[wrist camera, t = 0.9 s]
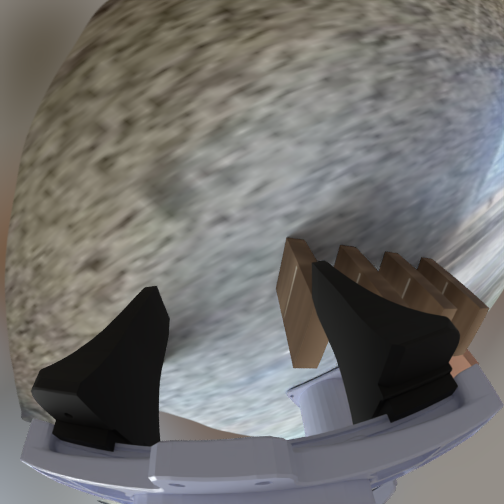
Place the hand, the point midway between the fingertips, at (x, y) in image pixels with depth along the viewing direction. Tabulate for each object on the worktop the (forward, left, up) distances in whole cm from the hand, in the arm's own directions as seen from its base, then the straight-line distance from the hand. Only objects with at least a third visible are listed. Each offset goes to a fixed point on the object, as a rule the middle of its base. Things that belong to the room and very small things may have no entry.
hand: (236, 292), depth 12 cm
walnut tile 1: (-6, -2, -11) cm, 13 cm away
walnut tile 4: (-15, -13, -11) cm, 23 cm away
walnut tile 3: (-12, -9, -11) cm, 19 cm away
